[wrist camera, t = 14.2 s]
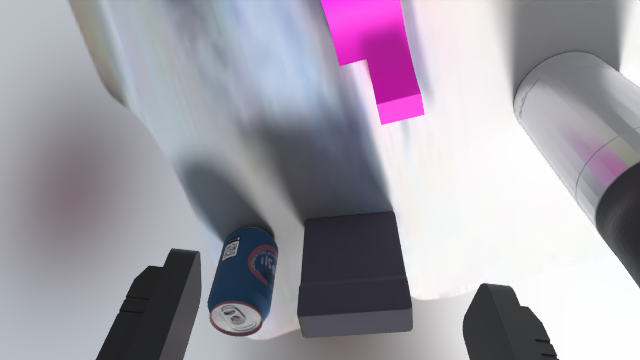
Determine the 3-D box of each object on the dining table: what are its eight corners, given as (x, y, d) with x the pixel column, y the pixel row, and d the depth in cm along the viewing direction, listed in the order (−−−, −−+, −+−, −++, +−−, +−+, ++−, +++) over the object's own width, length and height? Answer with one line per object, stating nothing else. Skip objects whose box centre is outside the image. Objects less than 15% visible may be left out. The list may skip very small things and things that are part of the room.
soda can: (289, 251, 58) (280, 329, 48) (245, 268, 60) (228, 346, 50) (259, 215, 54) (244, 291, 45) (214, 234, 56) (190, 311, 47)
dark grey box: (309, 240, 57) (303, 343, 45) (304, 215, 54) (296, 316, 42) (395, 233, 56) (413, 336, 44) (394, 206, 53) (413, 308, 41)
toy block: (307, -65, 37) (302, -51, 31) (381, -89, 36) (391, -80, 30) (350, 95, 45) (353, 131, 39) (411, 79, 44) (424, 114, 38)
